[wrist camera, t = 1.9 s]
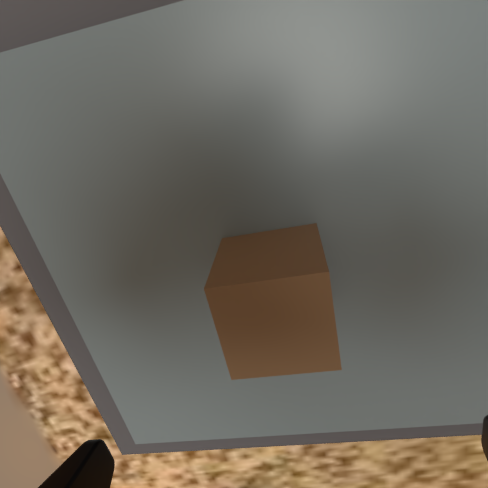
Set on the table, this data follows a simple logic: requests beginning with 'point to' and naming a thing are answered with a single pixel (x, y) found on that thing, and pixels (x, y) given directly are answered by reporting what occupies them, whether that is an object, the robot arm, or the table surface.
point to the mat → (9, 218)
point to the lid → (265, 210)
